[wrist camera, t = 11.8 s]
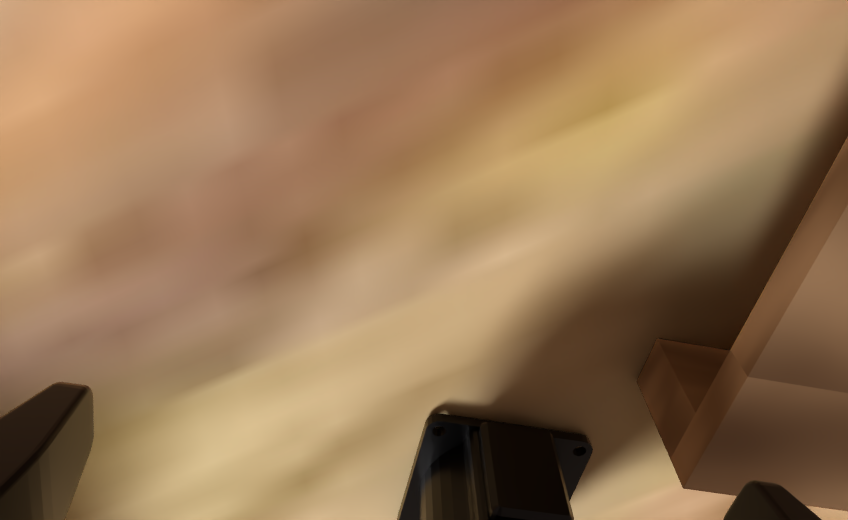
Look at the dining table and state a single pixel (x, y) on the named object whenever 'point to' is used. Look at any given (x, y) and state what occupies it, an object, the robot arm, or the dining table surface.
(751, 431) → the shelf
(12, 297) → the dining table surface
